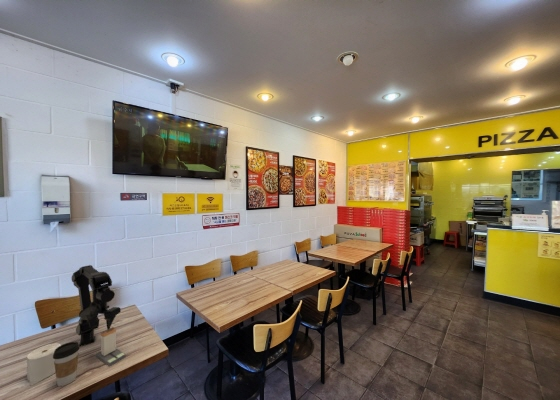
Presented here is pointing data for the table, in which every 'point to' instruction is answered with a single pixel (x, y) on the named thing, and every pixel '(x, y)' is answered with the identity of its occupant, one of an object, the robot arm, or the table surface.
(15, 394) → the table surface
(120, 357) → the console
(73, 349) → the coffee cup
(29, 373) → the toilet tissue
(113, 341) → the cream box
